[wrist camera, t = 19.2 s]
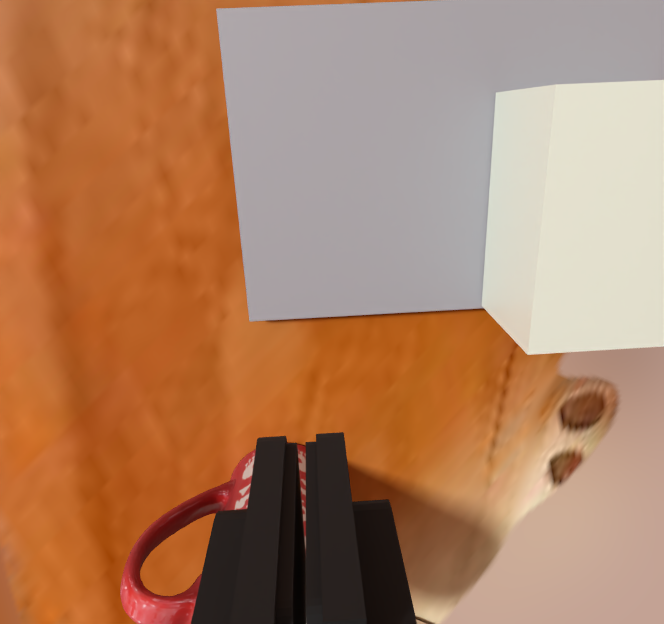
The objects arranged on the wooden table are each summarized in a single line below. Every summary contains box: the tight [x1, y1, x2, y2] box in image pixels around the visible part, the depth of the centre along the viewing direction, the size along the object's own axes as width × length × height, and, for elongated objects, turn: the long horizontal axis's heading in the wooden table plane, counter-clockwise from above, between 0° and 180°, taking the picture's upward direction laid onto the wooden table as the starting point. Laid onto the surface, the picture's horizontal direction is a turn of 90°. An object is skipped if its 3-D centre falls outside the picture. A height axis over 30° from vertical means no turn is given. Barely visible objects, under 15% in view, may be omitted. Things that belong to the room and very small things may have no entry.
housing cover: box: [482, 80, 664, 355], centre depth 25 cm, size 12×8×7 cm
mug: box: [120, 444, 307, 624], centre depth 29 cm, size 13×9×14 cm
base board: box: [216, 0, 664, 321], centre depth 27 cm, size 16×23×3 cm
